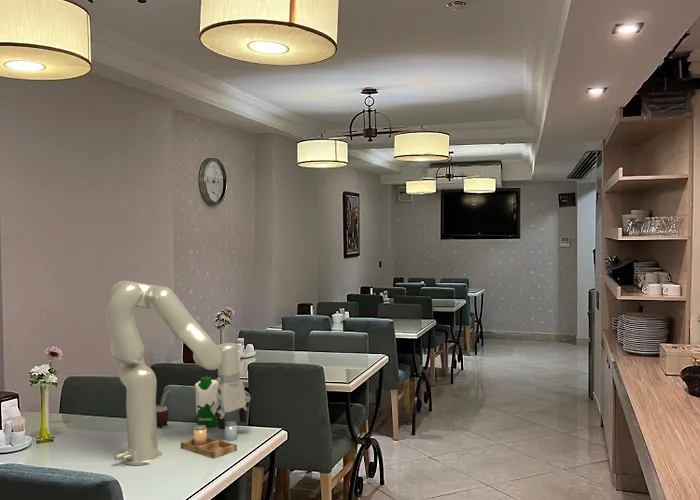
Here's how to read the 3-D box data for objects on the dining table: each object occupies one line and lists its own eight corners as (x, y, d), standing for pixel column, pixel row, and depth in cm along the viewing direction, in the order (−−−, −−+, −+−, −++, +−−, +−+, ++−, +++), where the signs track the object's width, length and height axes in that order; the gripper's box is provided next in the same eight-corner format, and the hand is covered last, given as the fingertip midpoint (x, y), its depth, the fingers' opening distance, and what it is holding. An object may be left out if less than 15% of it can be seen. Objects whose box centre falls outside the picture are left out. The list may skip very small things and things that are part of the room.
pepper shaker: (199, 450, 225) (198, 429, 225) (191, 447, 228) (190, 427, 227) (209, 446, 228) (209, 426, 228) (202, 444, 231) (201, 424, 231)
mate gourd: (149, 425, 262) (147, 388, 261) (169, 422, 265) (167, 385, 265) (151, 430, 255) (150, 391, 255) (172, 427, 258) (171, 389, 258)
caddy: (213, 462, 215) (213, 452, 215) (181, 451, 227) (180, 442, 227) (237, 454, 222) (236, 444, 222) (204, 444, 235) (203, 435, 235)
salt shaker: (230, 445, 233) (229, 425, 233) (222, 443, 236) (221, 423, 236) (239, 442, 236) (239, 422, 236) (232, 439, 239) (231, 420, 239)
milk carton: (194, 431, 252) (192, 379, 251) (202, 424, 261) (200, 374, 260) (217, 431, 251) (214, 378, 250) (223, 424, 260) (221, 373, 259)
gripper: (216, 384, 227) (219, 433, 227) (254, 373, 240) (257, 420, 240) (202, 382, 232) (206, 430, 232) (241, 371, 245) (244, 417, 245)
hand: (232, 425), depth 236 cm, fingers open, 9 cm apart
